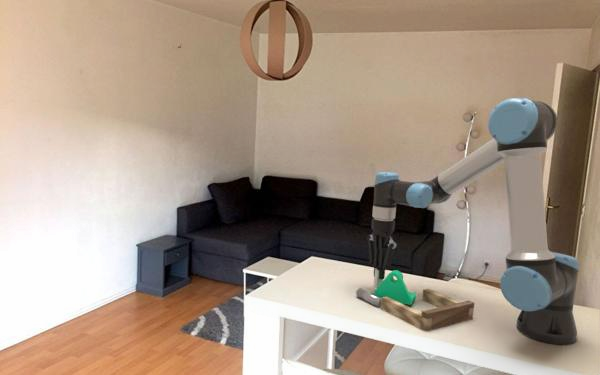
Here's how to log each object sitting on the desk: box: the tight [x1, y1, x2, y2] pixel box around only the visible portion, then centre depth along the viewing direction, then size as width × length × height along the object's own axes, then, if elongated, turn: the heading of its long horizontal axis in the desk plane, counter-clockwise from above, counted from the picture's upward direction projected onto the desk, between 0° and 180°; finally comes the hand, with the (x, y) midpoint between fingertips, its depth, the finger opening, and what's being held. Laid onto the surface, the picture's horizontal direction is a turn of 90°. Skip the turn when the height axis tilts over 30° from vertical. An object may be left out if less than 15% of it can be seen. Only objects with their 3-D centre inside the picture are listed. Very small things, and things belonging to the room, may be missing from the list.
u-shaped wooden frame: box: [380, 288, 475, 332], centre depth 144 cm, size 18×20×5 cm
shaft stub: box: [355, 287, 382, 308], centre depth 151 cm, size 10×3×3 cm
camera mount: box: [373, 269, 417, 306], centre depth 154 cm, size 12×8×10 cm, turn 63°
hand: (378, 287), depth 162 cm, fingers closed
